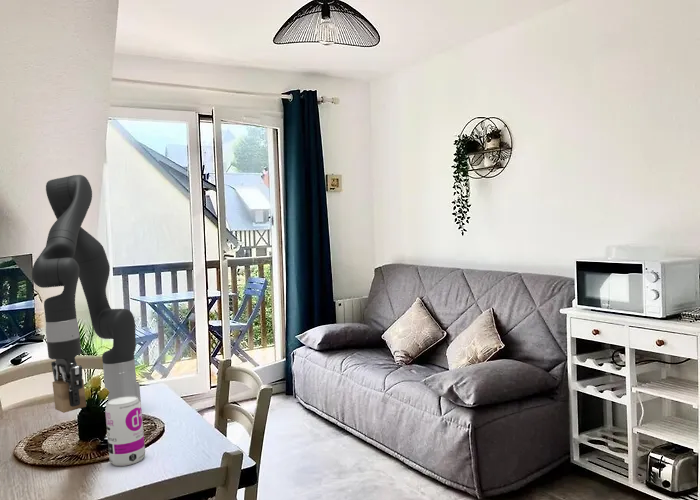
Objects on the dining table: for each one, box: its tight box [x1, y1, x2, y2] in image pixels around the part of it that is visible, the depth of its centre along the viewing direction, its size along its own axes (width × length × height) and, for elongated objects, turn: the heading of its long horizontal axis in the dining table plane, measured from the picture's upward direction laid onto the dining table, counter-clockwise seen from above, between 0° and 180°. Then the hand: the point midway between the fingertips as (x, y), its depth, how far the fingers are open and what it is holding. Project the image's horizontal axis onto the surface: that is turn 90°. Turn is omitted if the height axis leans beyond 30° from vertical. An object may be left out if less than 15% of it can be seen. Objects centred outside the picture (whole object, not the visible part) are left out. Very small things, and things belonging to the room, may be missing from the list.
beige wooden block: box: [51, 378, 87, 414], centre depth 151 cm, size 6×6×7 cm
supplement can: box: [105, 396, 146, 467], centre depth 147 cm, size 8×8×15 cm
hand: (70, 403), depth 151 cm, fingers closed on beige wooden block, 5 cm apart
